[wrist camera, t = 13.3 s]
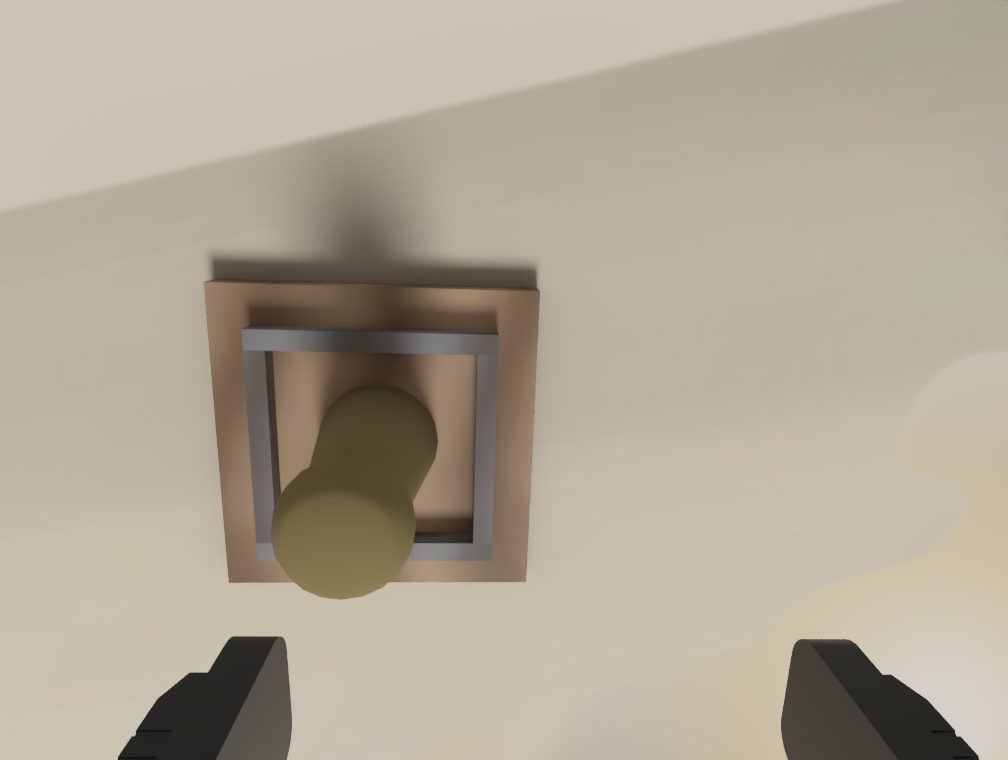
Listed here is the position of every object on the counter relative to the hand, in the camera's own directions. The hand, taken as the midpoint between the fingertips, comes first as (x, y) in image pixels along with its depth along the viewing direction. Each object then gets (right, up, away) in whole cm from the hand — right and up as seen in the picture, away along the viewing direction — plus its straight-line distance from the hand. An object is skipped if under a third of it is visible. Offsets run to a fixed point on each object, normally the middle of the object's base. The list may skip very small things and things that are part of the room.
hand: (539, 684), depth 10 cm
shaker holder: (-7, +2, +23) cm, 24 cm away
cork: (-7, +2, +22) cm, 23 cm away
